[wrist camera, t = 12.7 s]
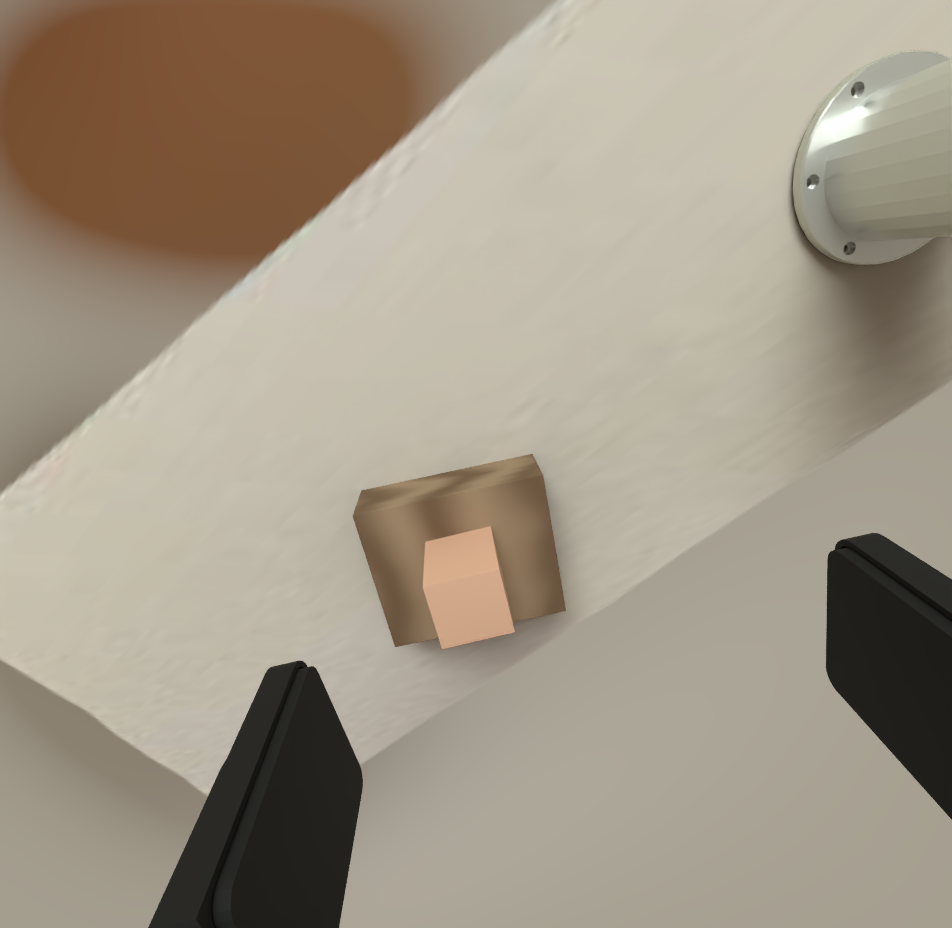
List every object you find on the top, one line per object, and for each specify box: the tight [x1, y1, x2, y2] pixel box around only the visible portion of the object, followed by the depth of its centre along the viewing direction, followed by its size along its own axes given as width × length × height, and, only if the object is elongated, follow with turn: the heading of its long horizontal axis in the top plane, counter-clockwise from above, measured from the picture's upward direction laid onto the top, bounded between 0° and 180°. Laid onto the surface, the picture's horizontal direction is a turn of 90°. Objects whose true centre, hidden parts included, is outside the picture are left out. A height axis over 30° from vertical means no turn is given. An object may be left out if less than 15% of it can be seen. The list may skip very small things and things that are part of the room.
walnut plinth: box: [353, 454, 566, 647], centre depth 42 cm, size 14×12×5 cm
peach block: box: [423, 526, 515, 649], centre depth 37 cm, size 5×5×6 cm
